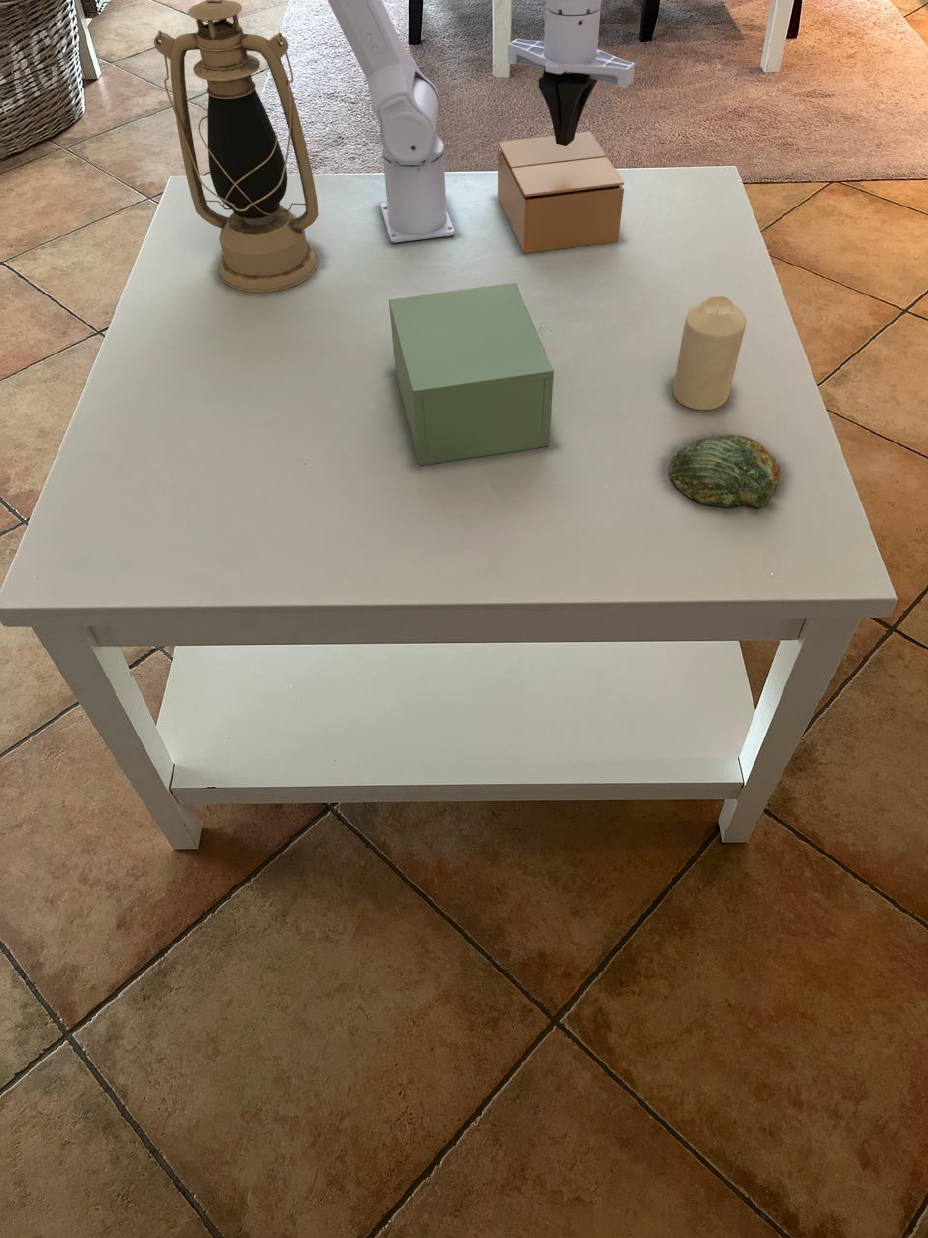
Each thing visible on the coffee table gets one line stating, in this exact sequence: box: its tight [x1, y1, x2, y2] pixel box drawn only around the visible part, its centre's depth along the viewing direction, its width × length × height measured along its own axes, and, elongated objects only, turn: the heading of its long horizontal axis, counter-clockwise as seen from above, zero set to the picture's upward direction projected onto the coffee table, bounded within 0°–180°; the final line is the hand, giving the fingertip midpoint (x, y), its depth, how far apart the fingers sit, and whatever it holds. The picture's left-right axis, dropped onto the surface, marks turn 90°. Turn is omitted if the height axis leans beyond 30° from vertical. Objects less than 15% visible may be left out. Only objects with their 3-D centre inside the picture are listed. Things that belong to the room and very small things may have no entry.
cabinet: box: [388, 282, 555, 467], centre depth 88 cm, size 15×13×9 cm
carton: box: [497, 131, 625, 255], centre depth 111 cm, size 14×12×7 cm
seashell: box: [668, 434, 782, 509], centre depth 82 cm, size 10×4×10 cm
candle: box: [672, 295, 748, 411], centre depth 87 cm, size 6×6×10 cm
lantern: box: [153, 0, 320, 294], centre depth 97 cm, size 15×12×30 cm
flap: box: [512, 157, 625, 197], centre depth 106 cm, size 7×12×1 cm, turn 101°
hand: (565, 141), depth 105 cm, fingers closed
